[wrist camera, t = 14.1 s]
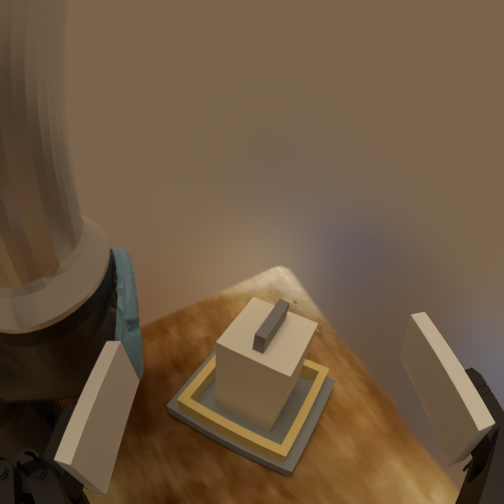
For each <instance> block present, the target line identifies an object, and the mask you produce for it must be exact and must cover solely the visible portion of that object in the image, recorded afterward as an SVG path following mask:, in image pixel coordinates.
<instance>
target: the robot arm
mask: <svg viewBox="0 0 504 504" xmlns="http://www.w3.org/2000/svg"><path fill="white" fill-rule="evenodd" d="M69 6H70V0H0V504H90V503H89V501H88V499H87V497H86V495H85V493H84V492H83V491H82V490H83V487H84V486H85V487H86V488H88V489H89V490H90V491H93V492H96V493H100V494H105V495H107V492H108V488H109V484H110V480H111V476H112V472H113V468H114V465H115V461H116V457H117V454H118V450H119V447H120V443H121V440H122V436H123V433H124V429H125V426H126V423H127V419H128V416H129V413H130V409H131V406H132V403H133V400H134V397H135V394H136V390H137V387H138V384H139V381H140V380H141V378H142V375H143V370H144V356H143V344H142V335H141V329H140V325H139V308H138V300H137V292H136V284H135V277H134V272H133V266H132V261H131V257H130V255H129V253H128V252H127V251H126V250H124V249H117V248H115V247H112V248H109V243H108V240H107V237H106V235H105V233H104V231H103V230H102V228H101V227H100V226H99V225H98V224H97V223H95V222H94V221H93V220H90V219H89V218H87V217H85V216H83V215H81V213H80V208H79V203H78V197H77V191H76V184H75V178H74V171H73V164H72V155H71V147H70V136H69V126H68V111H67V88H66V53H67V30H68V17H69ZM400 359H401V361H402V363H403V365H404V367H405V369H406V371H407V373H408V375H409V377H410V379H411V381H412V383H413V385H414V388H415V390H416V392H417V394H418V396H419V398H420V400H421V402H422V405H423V407H424V409H425V411H426V413H427V416H428V418H429V420H430V422H431V425H432V427H433V429H434V432H435V434H436V436H437V439H438V441H439V443H440V446H441V448H442V451H443V453H444V455H445V458H446V460H447V463H448V466H449V467H450V466H452V465H455V464H457V463H459V462H461V461H464V460H465V459H466V458H467V457H468V456H469V454H470V453H471V455H472V457H473V459H472V460H471V461H470V462H469V463H468V464H467V465H466V466H465V467H464V469H463V471H465V470H466V469H467V468H468V467H469V468H468V471H467V474H466V477H465V480H464V483H463V485H462V488H461V491H460V493H459V496H458V498H457V501H456V503H455V504H504V411H503V410H502V408H501V406H500V405H499V403H498V401H497V399H496V398H495V396H494V395H493V393H491V390H490V388H489V386H488V385H486V382H485V380H484V379H483V377H482V376H481V375H480V374H479V373H478V372H477V371H476V370H474V369H473V368H470V369H466V370H464V369H463V367H462V366H461V364H460V363H459V361H458V360H457V358H456V357H455V355H454V354H453V352H452V351H451V349H450V348H449V346H448V345H447V343H446V342H445V340H444V339H443V337H442V336H441V334H440V333H439V331H438V330H437V329H436V327H435V326H434V324H433V323H432V321H431V320H430V319H429V317H428V316H427V314H426V313H425V312H422V313H417V314H411V316H410V320H409V325H408V329H407V333H406V337H405V341H404V345H403V348H402V352H401V355H400ZM74 397H80V398H79V400H78V403H77V405H76V404H69V405H68V406H67V407H66V408H65V409H64V410H63V411H62V409H61V406H60V404H59V402H58V400H57V399H66V398H74Z"/></svg>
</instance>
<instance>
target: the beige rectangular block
mask: <svg viewBox="0 0 504 504" xmlns="http://www.w3.org/2000/svg"><path fill="white" fill-rule="evenodd" d="M289 304H290V303H288V302H286V301H283V300H281V299H279V301H278V302H277V304H276V305H275V306H274V305H272V304H269V303H267V302H264V301H262V300H260V299H257V298H255V297H253V298H252V299H251V301H250V302H249V303H248V304H247V305H246V307H245V308H244V309H243V310H242V311H241V313H240V314H239V315H238V316H237V318H236V319H235V320H234V321H233V322H232V324H231V325H230V326H229V327H228V328H227V330H226V331H225V332H224V333H223V334H222V335H221V337H220V338H219V339H218V340H217V341H216V369H215V405H216V406H218V407H220V408H222V409H223V410H225V411H227V412H229V413H231V414H233V415H235V416H237V417H239V418H241V419H243V420H245V421H247V422H249V423H251V424H253V425H255V426H258V427H260V428H262V429H264V430H266V431H268V432H270V430H271V428H272V427H273V425H274V423H275V421H276V420H277V418H278V416H279V414H280V413H281V411H282V409H283V407H284V405H285V404H286V402H287V400H288V398H289V396H290V394H291V392H292V391H293V389H294V386H295V384H296V381H297V379H298V376H299V374H300V371H301V369H302V366H303V364H304V361H305V358H306V356H307V353H308V350H309V348H310V345H311V342H312V339H313V337H314V334H315V331H316V328H317V325H318V323H316V322H314V321H311V320H309V319H306V318H304V317H301V316H299V315H296V314H294V313H291V312H289V311H288V308H289Z"/></svg>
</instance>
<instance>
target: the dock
mask: <svg viewBox="0 0 504 504" xmlns="http://www.w3.org/2000/svg"><path fill="white" fill-rule="evenodd" d="M215 369H216V348H215V350H214V351H213V352H212V353H211V354H210V355H209V357H208V358H207V359H206V360H205V361H204V362H203V364H202V365H201V366H200V367H199V368H198V369H197V371H196V372H195V373H194V374H193V375H192V376H191V378H190V379H189V380H188V381H187V382H186V383H185V384H184V386H183V387H182V388H181V389H180V390H179V391H178V392H177V394H176V395H175V396H174V397H173V398H172V399H171V400H170V402H169V403H168V404H167V405H166V407H167V411H168V413H169V414H171V415H172V416H174V417H176V418H177V419H179V420H180V421H182V422H184V423H185V424H187V425H188V426H190V427H192V428H193V429H195V430H197V431H198V432H200V433H202V434H204V435H205V436H207V437H209V438H211V439H212V440H214V441H216V442H218V443H220V444H221V445H223V446H225V447H227V448H229V449H231V450H233V451H235V452H237V453H239V454H241V455H243V456H245V457H247V458H249V459H251V460H253V461H255V462H257V463H259V464H261V465H263V466H266V467H268V468H270V469H272V470H274V471H277V472H279V473H281V474H284V475H286V476H289V475H290V474H291V473H292V471H293V469H294V468H295V466H296V464H297V462H298V460H299V458H300V456H301V454H302V452H303V450H304V448H305V446H306V444H307V442H308V440H309V438H310V436H311V434H312V432H313V430H314V428H315V426H316V424H317V421H318V419H319V417H320V415H321V413H322V411H323V408H324V406H325V404H326V402H327V399H328V397H329V395H330V392H331V390H332V388H333V385H334V383H335V380H332V379H330V378H327V377H326V375H327V372H328V370H329V368H326V367H324V366H321V365H319V364H317V363H314V362H312V361H309V360H307V359H305V361H304V364H303V366H302V369H301V371H300V374H299V376H298V379H297V381H296V384H295V386H294V389H293V391H292V392H291V394H290V396H289V398H288V400H287V402H286V404H285V405H284V407H283V409H282V411H281V413H280V414H279V416H278V418H277V420H276V421H275V423H274V425H273V427H272V428H271V430H270V432H268V431H266V430H264V429H262V428H260V427H258V426H255V425H253V424H251V423H249V422H247V421H245V420H243V419H241V418H239V417H237V416H235V415H233V414H231V413H229V412H227V411H225V410H223V409H222V408H220V407H218V406H216V405H215Z"/></svg>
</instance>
